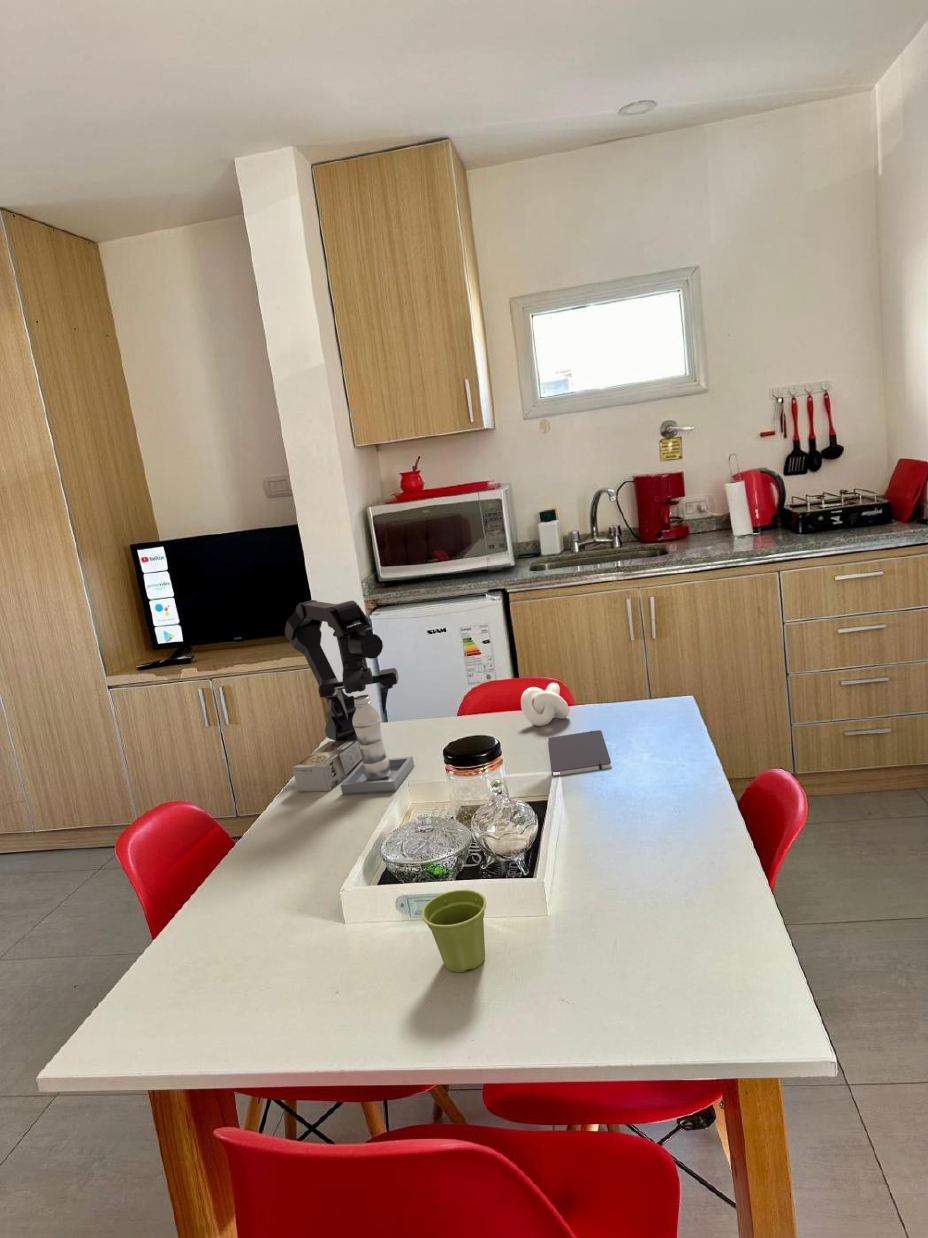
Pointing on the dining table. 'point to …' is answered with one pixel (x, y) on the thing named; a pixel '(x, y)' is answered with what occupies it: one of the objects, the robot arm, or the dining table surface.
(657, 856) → the dining table surface
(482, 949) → the plant pot
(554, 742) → the notebook
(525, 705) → the white knot sculpture
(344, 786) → the grey square tray
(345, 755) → the coffee box
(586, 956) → the dining table surface
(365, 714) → the plastic bottle
